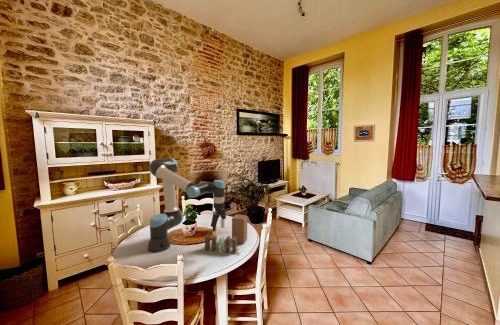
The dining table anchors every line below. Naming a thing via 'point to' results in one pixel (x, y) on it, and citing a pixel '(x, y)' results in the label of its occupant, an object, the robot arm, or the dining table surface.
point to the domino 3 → (227, 244)
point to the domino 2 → (214, 243)
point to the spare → (221, 243)
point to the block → (239, 228)
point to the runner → (220, 252)
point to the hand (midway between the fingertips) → (218, 231)
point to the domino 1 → (207, 242)
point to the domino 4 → (234, 245)
